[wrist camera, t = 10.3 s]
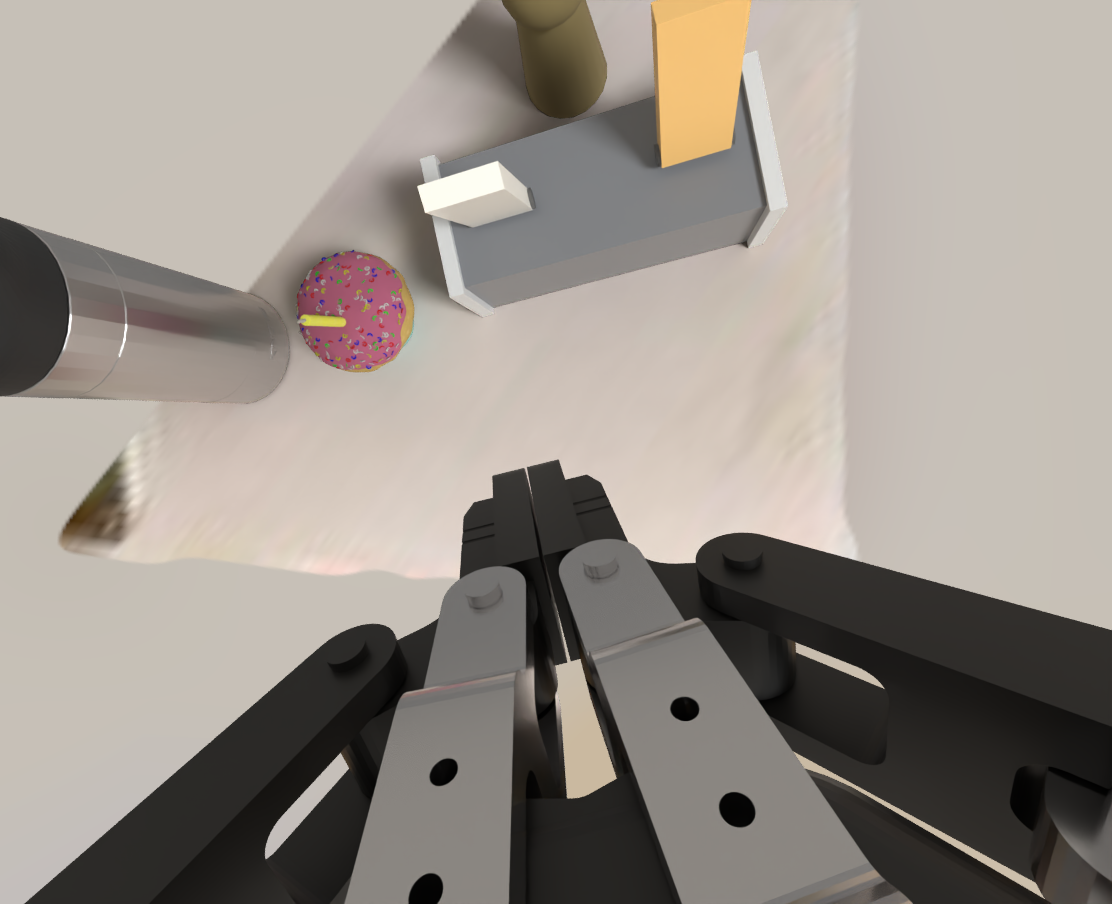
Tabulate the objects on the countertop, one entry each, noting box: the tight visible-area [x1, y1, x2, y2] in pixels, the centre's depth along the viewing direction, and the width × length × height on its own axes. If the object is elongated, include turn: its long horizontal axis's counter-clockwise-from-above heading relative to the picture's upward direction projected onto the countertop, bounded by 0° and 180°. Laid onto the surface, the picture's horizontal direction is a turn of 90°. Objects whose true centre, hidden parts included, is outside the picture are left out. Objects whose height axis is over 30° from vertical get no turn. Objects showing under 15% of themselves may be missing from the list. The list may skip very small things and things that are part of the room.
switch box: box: [420, 51, 788, 317], centre depth 36 cm, size 21×9×7 cm, turn 102°
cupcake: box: [296, 250, 414, 372], centre depth 37 cm, size 9×8×12 cm
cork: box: [502, 0, 607, 119], centre depth 34 cm, size 6×6×11 cm
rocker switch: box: [417, 161, 536, 228], centre depth 29 cm, size 4×1×9 cm, turn 102°
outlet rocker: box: [651, 0, 751, 168], centre depth 27 cm, size 4×1×9 cm, turn 102°
